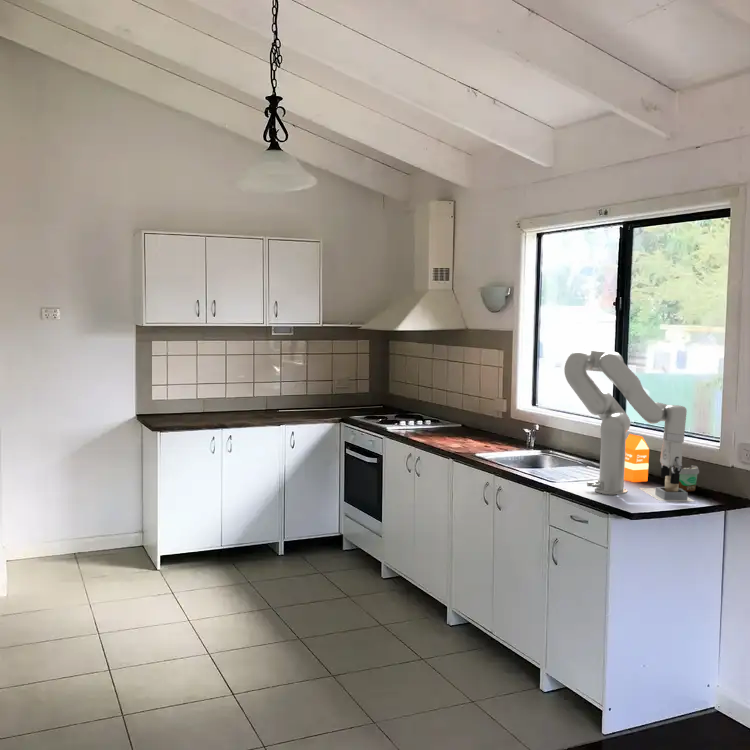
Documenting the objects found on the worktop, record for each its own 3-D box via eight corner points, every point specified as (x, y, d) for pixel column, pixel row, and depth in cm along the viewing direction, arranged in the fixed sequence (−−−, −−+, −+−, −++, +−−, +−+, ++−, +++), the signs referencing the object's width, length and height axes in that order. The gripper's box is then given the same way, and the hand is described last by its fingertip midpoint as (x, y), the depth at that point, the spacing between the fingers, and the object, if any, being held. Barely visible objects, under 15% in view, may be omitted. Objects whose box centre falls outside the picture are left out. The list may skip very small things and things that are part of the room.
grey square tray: (664, 499, 316) (664, 492, 316) (655, 494, 325) (655, 487, 325) (687, 500, 316) (687, 492, 316) (677, 494, 325) (678, 487, 325)
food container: (686, 495, 329) (688, 470, 328) (673, 492, 334) (674, 467, 333) (704, 491, 336) (705, 467, 336) (690, 488, 341) (692, 464, 341)
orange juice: (632, 484, 348) (635, 437, 346) (619, 479, 356) (621, 433, 355) (647, 483, 351) (650, 436, 349) (634, 478, 359) (636, 433, 357)
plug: (667, 498, 318) (668, 478, 317) (662, 495, 323) (663, 475, 322) (680, 498, 318) (681, 478, 318) (674, 495, 323) (675, 475, 323)
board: (659, 502, 315) (659, 500, 315) (638, 489, 336) (638, 488, 336) (695, 503, 315) (695, 501, 315) (672, 490, 337) (672, 488, 337)
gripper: (655, 432, 327) (651, 475, 329) (673, 440, 310) (668, 485, 312) (674, 433, 328) (670, 476, 329) (692, 441, 311) (688, 486, 312)
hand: (669, 480), depth 321 cm, fingers open, 9 cm apart
